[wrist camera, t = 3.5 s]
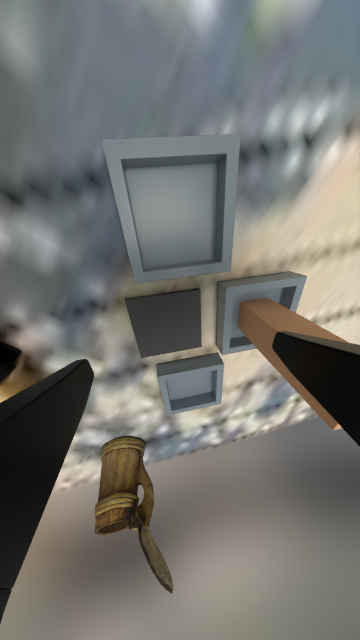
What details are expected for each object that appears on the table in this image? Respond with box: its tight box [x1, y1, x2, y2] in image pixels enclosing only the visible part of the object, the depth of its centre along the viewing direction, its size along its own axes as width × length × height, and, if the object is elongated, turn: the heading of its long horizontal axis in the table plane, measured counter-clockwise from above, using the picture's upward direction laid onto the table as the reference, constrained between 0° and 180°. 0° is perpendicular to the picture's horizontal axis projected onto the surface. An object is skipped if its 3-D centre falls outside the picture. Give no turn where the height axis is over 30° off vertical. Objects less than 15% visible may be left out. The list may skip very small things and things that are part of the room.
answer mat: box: [125, 288, 202, 358], centre depth 21 cm, size 9×9×1 cm
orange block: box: [237, 297, 349, 430], centre depth 16 cm, size 4×4×14 cm
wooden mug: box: [95, 437, 173, 594], centre depth 27 cm, size 9×14×18 cm, turn 102°
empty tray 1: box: [102, 134, 240, 284], centre depth 15 cm, size 10×10×2 cm
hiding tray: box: [216, 272, 307, 355], centre depth 22 cm, size 10×10×2 cm
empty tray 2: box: [157, 353, 224, 416], centre depth 27 cm, size 10×10×2 cm
